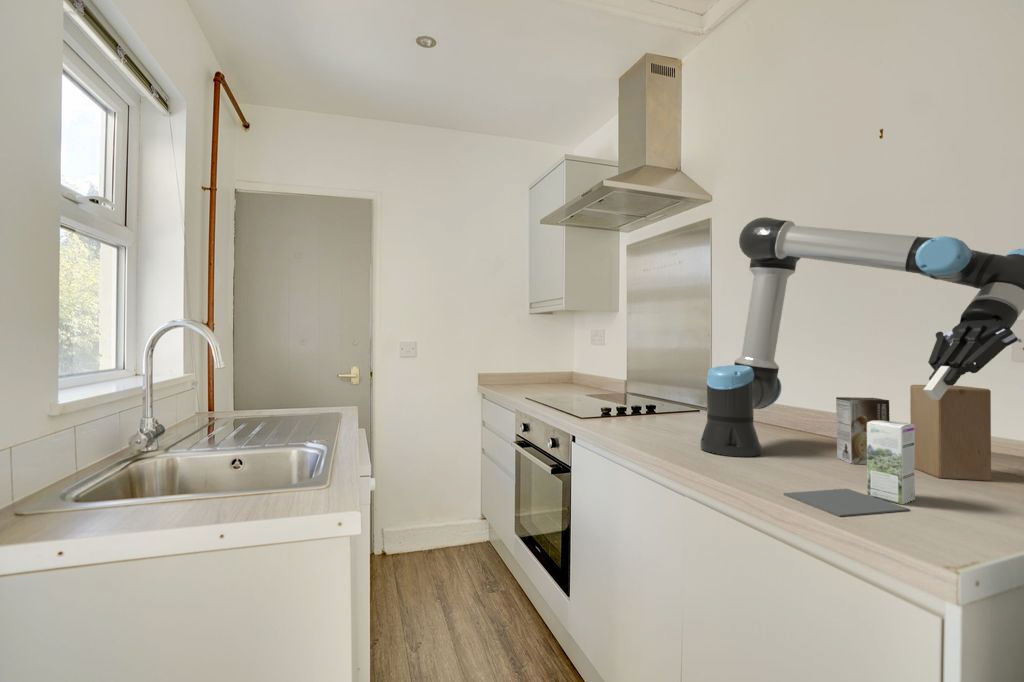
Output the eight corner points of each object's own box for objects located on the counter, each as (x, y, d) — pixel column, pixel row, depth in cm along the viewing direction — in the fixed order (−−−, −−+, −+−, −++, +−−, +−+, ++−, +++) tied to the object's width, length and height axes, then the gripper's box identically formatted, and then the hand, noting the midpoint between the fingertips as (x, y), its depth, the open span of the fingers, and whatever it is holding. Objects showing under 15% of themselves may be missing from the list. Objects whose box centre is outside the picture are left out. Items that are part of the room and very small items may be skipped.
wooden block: (992, 481, 100) (991, 389, 100) (938, 478, 102) (938, 388, 102) (958, 469, 110) (957, 385, 110) (909, 467, 112) (909, 384, 112)
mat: (846, 490, 93) (846, 488, 93) (909, 510, 81) (909, 509, 81) (783, 494, 90) (783, 493, 90) (839, 516, 78) (839, 515, 78)
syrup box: (916, 500, 87) (916, 423, 87) (902, 505, 84) (901, 425, 84) (880, 492, 92) (880, 419, 92) (865, 496, 89) (865, 421, 89)
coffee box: (873, 459, 120) (873, 397, 120) (891, 465, 113) (891, 400, 113) (835, 458, 121) (835, 396, 121) (851, 464, 114) (850, 399, 114)
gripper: (1046, 321, 88) (982, 412, 84) (966, 325, 101) (907, 404, 97) (1024, 293, 87) (959, 383, 83) (946, 300, 100) (886, 379, 96)
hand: (931, 394), depth 90 cm, fingers closed
